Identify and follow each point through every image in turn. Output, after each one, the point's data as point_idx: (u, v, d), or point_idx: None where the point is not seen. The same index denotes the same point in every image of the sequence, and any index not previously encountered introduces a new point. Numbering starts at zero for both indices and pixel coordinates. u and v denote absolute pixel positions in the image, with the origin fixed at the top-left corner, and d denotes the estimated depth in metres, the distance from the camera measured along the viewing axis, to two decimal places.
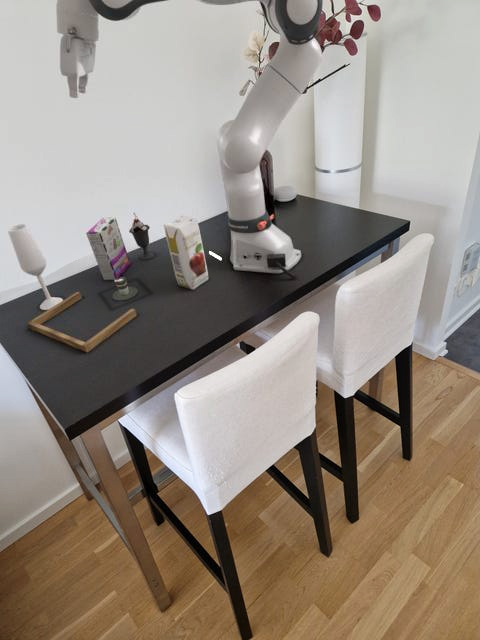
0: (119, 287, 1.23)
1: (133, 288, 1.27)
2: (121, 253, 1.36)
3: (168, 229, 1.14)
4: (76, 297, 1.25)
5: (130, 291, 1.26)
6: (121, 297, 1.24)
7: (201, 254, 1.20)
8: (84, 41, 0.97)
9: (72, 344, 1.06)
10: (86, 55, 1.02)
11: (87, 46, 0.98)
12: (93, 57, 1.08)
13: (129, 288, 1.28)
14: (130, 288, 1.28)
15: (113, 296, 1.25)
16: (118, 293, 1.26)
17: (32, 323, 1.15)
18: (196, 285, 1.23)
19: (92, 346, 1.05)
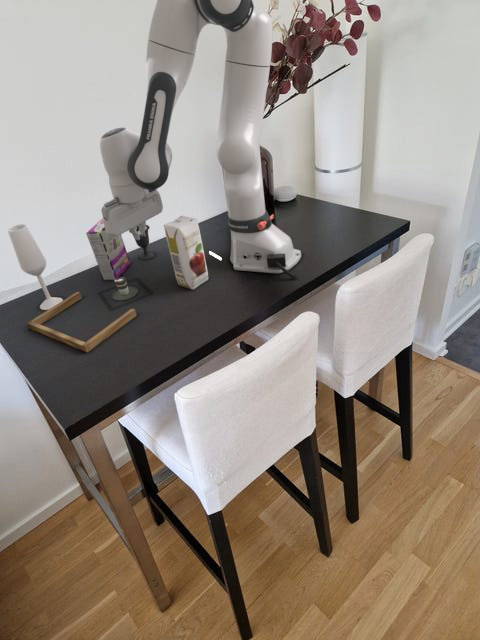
0: (119, 287, 1.23)
1: (133, 288, 1.27)
2: (121, 253, 1.36)
3: (168, 229, 1.14)
4: (76, 297, 1.25)
5: (130, 291, 1.26)
6: (121, 297, 1.24)
7: (201, 254, 1.20)
8: (128, 203, 1.17)
9: (72, 344, 1.06)
10: (141, 208, 1.22)
11: (132, 206, 1.18)
12: (158, 202, 1.27)
13: (129, 288, 1.28)
14: (130, 288, 1.28)
15: (113, 296, 1.25)
16: (118, 293, 1.26)
17: (32, 323, 1.15)
18: (196, 285, 1.23)
19: (92, 346, 1.05)
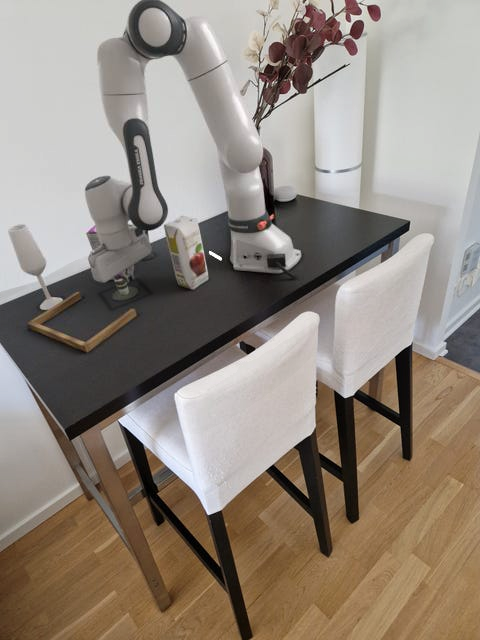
0: (119, 287, 1.23)
1: (133, 288, 1.27)
2: None
3: (168, 229, 1.14)
4: (76, 297, 1.25)
5: (130, 291, 1.26)
6: (121, 297, 1.24)
7: (201, 254, 1.20)
8: (115, 249, 1.17)
9: (72, 344, 1.06)
10: (129, 252, 1.22)
11: (119, 251, 1.18)
12: (146, 244, 1.26)
13: (129, 288, 1.28)
14: (130, 288, 1.28)
15: (113, 296, 1.25)
16: (118, 293, 1.26)
17: (32, 323, 1.15)
18: (196, 285, 1.23)
19: (92, 346, 1.05)
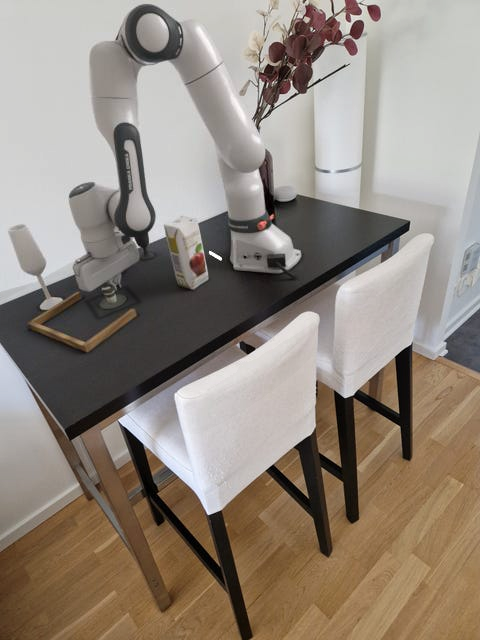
0: (106, 295, 1.20)
1: (121, 296, 1.24)
2: None
3: (168, 229, 1.14)
4: (76, 297, 1.25)
5: (118, 299, 1.23)
6: (108, 305, 1.21)
7: (201, 254, 1.20)
8: (101, 257, 1.14)
9: (72, 344, 1.06)
10: (116, 260, 1.19)
11: (105, 260, 1.15)
12: (134, 252, 1.23)
13: (117, 296, 1.25)
14: (118, 296, 1.25)
15: (100, 304, 1.22)
16: (106, 301, 1.23)
17: (32, 323, 1.15)
18: (196, 285, 1.23)
19: (92, 346, 1.05)
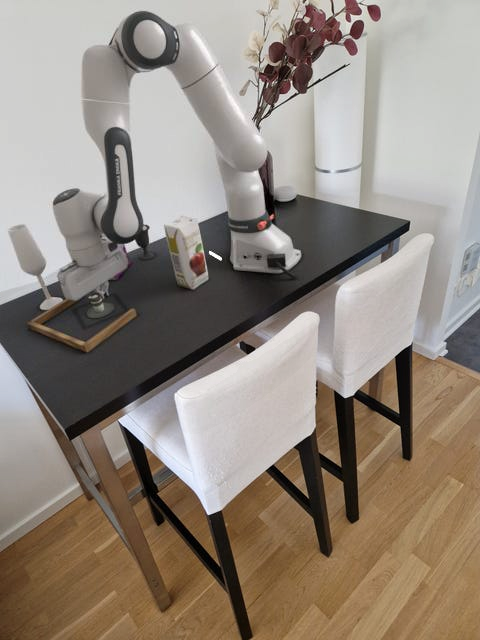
0: (93, 304, 1.17)
1: (109, 305, 1.21)
2: None
3: (168, 229, 1.14)
4: None
5: (106, 308, 1.20)
6: (95, 314, 1.18)
7: (201, 254, 1.20)
8: (87, 265, 1.11)
9: (72, 344, 1.06)
10: (103, 268, 1.16)
11: (92, 268, 1.12)
12: (122, 259, 1.20)
13: (105, 304, 1.22)
14: (106, 304, 1.22)
15: (87, 313, 1.19)
16: (93, 310, 1.20)
17: (32, 323, 1.15)
18: (196, 285, 1.23)
19: (92, 346, 1.05)
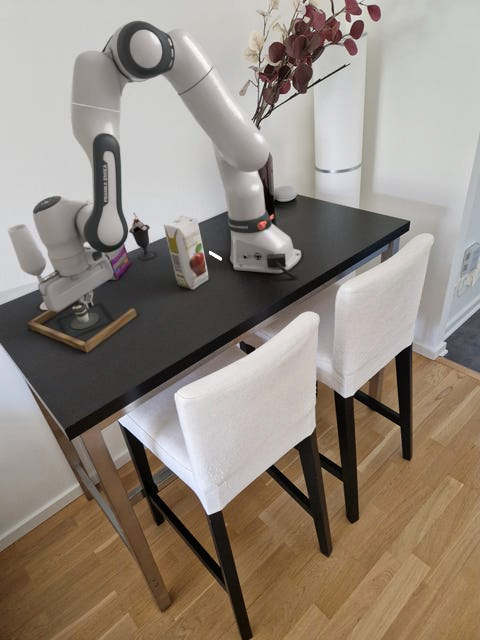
0: (77, 315, 1.13)
1: (94, 315, 1.18)
2: (121, 253, 1.36)
3: (168, 229, 1.14)
4: None
5: (90, 318, 1.17)
6: (80, 325, 1.15)
7: (201, 254, 1.20)
8: (70, 275, 1.08)
9: (72, 344, 1.06)
10: (87, 277, 1.12)
11: (75, 278, 1.08)
12: (107, 268, 1.17)
13: (90, 315, 1.18)
14: (91, 315, 1.18)
15: (72, 324, 1.15)
16: (77, 320, 1.17)
17: (32, 323, 1.15)
18: (196, 285, 1.23)
19: (92, 346, 1.05)
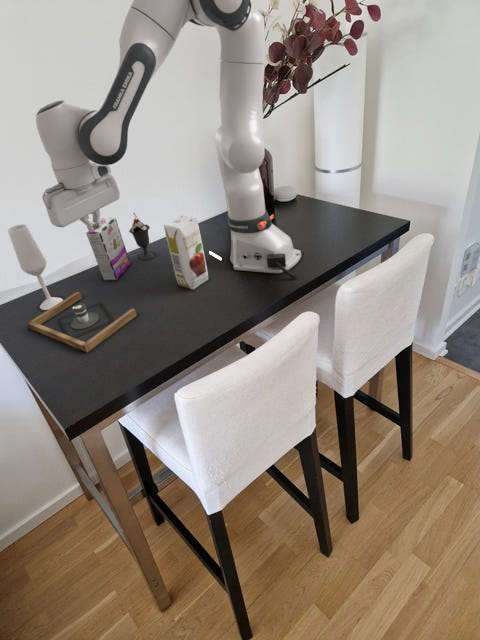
0: (77, 315, 1.13)
1: (94, 315, 1.18)
2: (121, 253, 1.36)
3: (168, 229, 1.14)
4: (76, 297, 1.25)
5: (90, 318, 1.17)
6: (80, 325, 1.15)
7: (201, 254, 1.20)
8: (75, 189, 1.03)
9: (72, 344, 1.06)
10: (92, 194, 1.08)
11: (80, 192, 1.04)
12: (113, 188, 1.12)
13: (90, 314, 1.18)
14: (91, 314, 1.18)
15: (72, 324, 1.15)
16: (77, 320, 1.17)
17: (32, 323, 1.15)
18: (196, 285, 1.23)
19: (92, 346, 1.05)
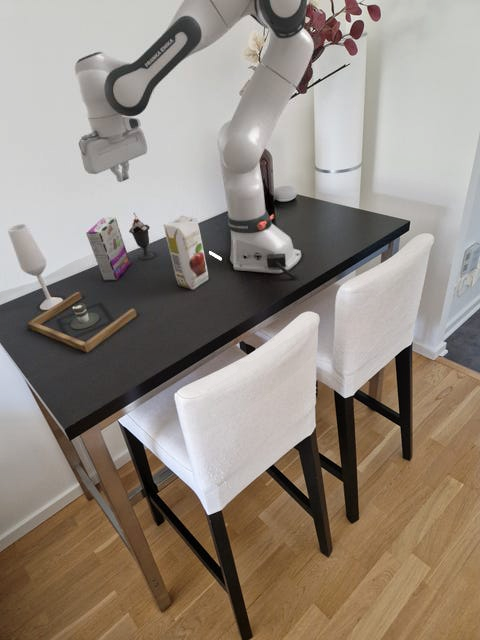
0: (77, 315, 1.13)
1: (94, 315, 1.18)
2: (121, 253, 1.36)
3: (168, 229, 1.14)
4: (76, 297, 1.25)
5: (90, 318, 1.17)
6: (80, 325, 1.15)
7: (201, 254, 1.20)
8: (108, 138, 1.10)
9: (72, 344, 1.06)
10: (123, 146, 1.14)
11: (113, 141, 1.10)
12: (142, 141, 1.19)
13: (90, 314, 1.18)
14: (91, 314, 1.18)
15: (72, 324, 1.15)
16: (77, 320, 1.17)
17: (32, 323, 1.15)
18: (196, 285, 1.23)
19: (92, 346, 1.05)
